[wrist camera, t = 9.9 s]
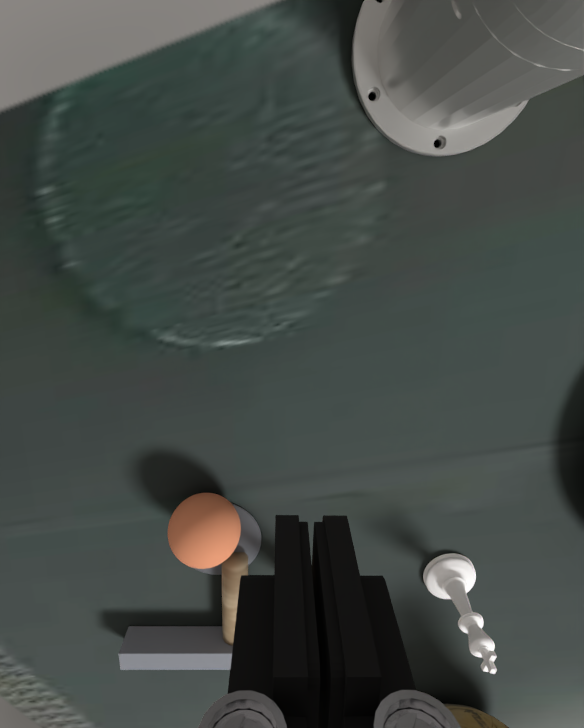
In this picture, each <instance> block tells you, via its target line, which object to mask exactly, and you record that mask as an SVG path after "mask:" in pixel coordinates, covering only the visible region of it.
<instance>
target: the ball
mask: <svg viewBox="0 0 584 728" xmlns="http://www.w3.org/2000/svg"><path fill="white" fill-rule="evenodd" d="M240 533H241V524H240V518H239V515H238V513H237V511H236V509H235V508H234V506H233V505H232V504H231V503H230V502H229V501H228V500H227V499H226V498H224V497H222V496H220V495H218V494H214V493H199V494H195V495H192V496H190V497H188V498H187V499H185V500H184V501H183V502H181V503H180V504H179V505H178V507H177V508H176V509H175V511H174V512H173V514H172V516H171V519H170V521H169V525H168V540H169V544H170V547H171V549H172V551H173V553H174V555H175V556H176V557H177V558H178V559H179V560H180V561H181V562H182V563H184V564H186V565H187V566H190V567H193V568H197V569H206V568H212V567H215V566H217V565H219V564H221V563H222V562H224V561H225V560H226V559H228V558H229V557H230V556H231V554H232V553H233V552H234V550H235V548H236V547H237V544H238V542H239V538H240Z"/></svg>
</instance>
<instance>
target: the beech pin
mask: <svg viewBox="0 0 584 728" xmlns="http://www.w3.org/2000/svg"><path fill="white" fill-rule="evenodd" d="M241 575H248V556H247V554H246V553H245V552H233V553H232V554H231V556H230V557H229V558H228V559H226V560H225V561H224V562H222V632H223V640H224V642H225V643H227V644H228V645H231V646H233V641H234V632H235V622H236V613H237V604H238V595H239V585H240V578H241Z"/></svg>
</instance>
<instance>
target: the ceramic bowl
mask: <svg viewBox="0 0 584 728" xmlns="http://www.w3.org/2000/svg"><path fill="white" fill-rule="evenodd" d="M443 705H444V706H445V707H447V708H448V709H449V710H450V711H451V712H452V714H453V715H454V717H455V718H456V720H457V722H458V723H459V725H460V726H461V728H509V727H507V726H506V725H505V724H503V723H502V722H500V721H499V720H497V719H496V718H494V717H492V716H490V715H488V714H486V713H484V712H482V711H480V710H478V709H476V708H472V707H469V706H465V705H458V704H443Z"/></svg>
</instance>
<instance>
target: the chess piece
mask: <svg viewBox="0 0 584 728" xmlns="http://www.w3.org/2000/svg"><path fill="white" fill-rule="evenodd" d="M423 580H424V583H425V585H426V587H427V588H428V590H429V591H430V592H431V593H432V594H433V595H434V596H436V597H439V598H442V599H451V600H452V601H453V603H454V604H455V606H456V608H457V609H458V611H459V613H460V615H461V617H460V619H459V621H458V626H459V628H460V629H461V630H462V631H463V632H465V633H468V638H469V649H470V652H471V653H472V654H473V655H474V656H476V657H483V660H484V661H483V662H482V664H481V668H482V670H483V671H485V672H488V671H489V673H492V674H495V673H496V671H497V669H496V667H495V664H494V661H495V659H496V657H497V656H496V653H495V651H494V648H495V644H494V642H493V640H492V639H491V638H490V637H489V636H488V635H487V634H486V633H485V632H484V631H483V630H482V629H481V628H482V627H483V624H484V622H483V618H482V616H481V615H480V614H478V613H475V612H472V609H471V606H470V603H469V600H468V597H467V594H466V593H467V592H468V591H469V590H470V589H471V588H472V587H473V585H474V583H475V580H476V573H475V569H474V566H473V564H472V562H471V561H470V560H469V559H468V558H467V557H465V556H463V555H460V554H455V553H449V554H443V555H440V556H438V557H436V558H434V559H433V560H432V561H430V562H429V564H428V565H427V566H426V568H425V570H424V573H423Z"/></svg>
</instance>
